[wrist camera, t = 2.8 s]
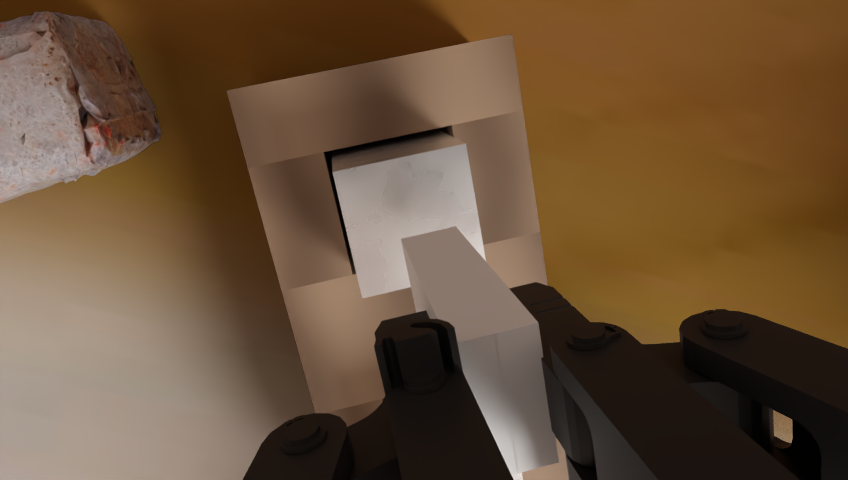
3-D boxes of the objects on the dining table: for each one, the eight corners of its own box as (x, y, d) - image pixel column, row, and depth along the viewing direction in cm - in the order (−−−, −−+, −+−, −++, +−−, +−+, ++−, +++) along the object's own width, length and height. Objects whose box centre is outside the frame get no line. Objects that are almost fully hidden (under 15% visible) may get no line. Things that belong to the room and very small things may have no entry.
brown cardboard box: (470, 43, 33) (512, 33, 26) (530, 420, 40) (578, 502, 32) (250, 86, 32) (226, 90, 25) (351, 467, 39) (356, 562, 31)
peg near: (434, 127, 29) (466, 143, 23) (452, 226, 31) (487, 269, 24) (331, 149, 29) (332, 172, 22) (355, 248, 30) (362, 298, 24)
